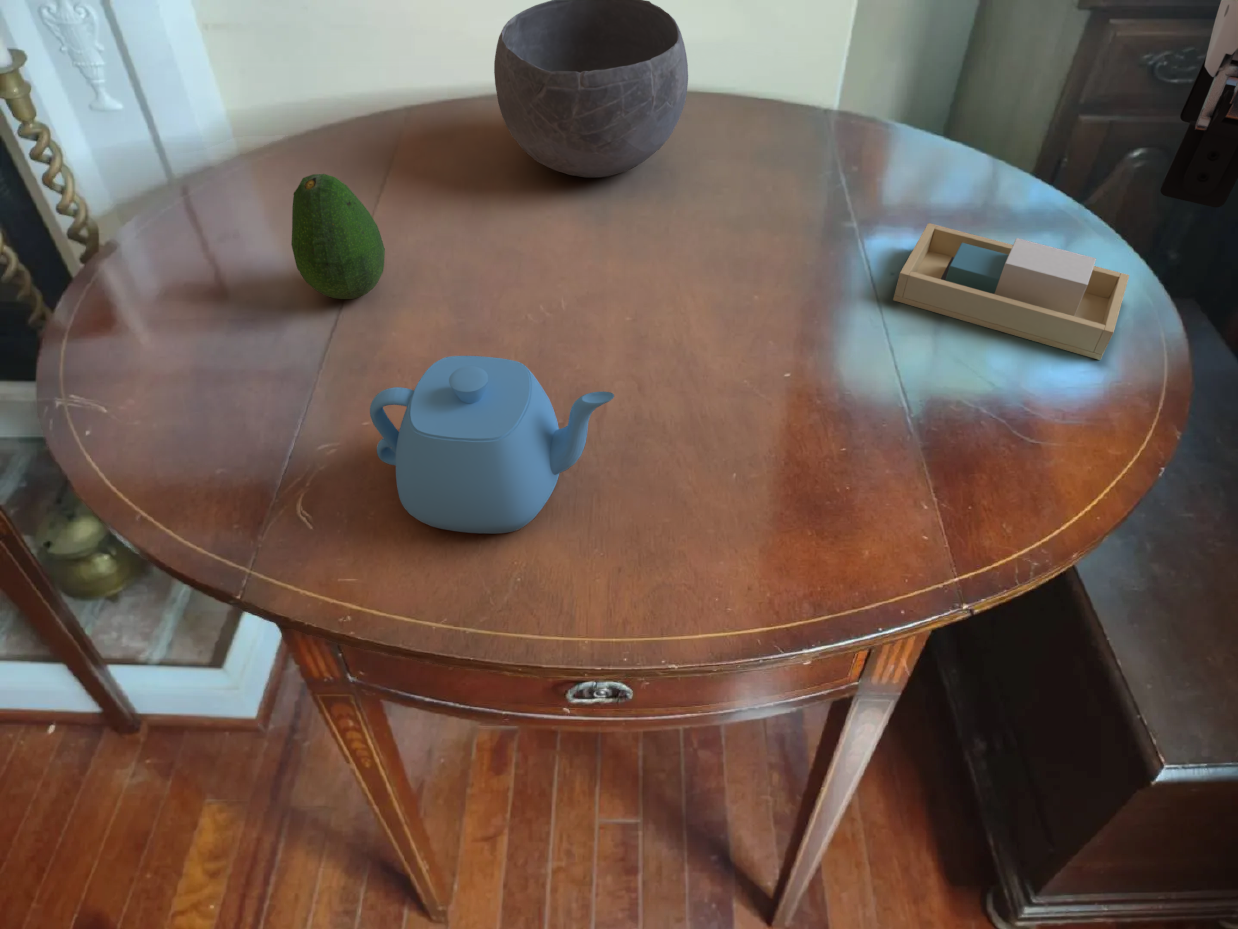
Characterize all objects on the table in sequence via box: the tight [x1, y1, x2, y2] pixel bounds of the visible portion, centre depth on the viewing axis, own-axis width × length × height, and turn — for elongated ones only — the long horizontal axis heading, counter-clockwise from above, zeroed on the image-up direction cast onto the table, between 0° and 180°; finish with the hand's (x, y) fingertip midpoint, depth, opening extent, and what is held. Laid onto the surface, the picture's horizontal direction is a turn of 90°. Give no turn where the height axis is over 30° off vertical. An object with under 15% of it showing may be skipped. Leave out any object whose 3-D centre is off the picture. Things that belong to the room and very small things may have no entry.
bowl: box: [493, 0, 689, 178], centre depth 102 cm, size 20×20×15 cm
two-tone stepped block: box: [941, 237, 1097, 316], centre depth 86 cm, size 12×5×5 cm, turn 62°
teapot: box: [369, 355, 615, 535], centre depth 69 cm, size 13×11×18 cm
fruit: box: [290, 173, 386, 300], centre depth 85 cm, size 8×8×12 cm
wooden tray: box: [892, 222, 1130, 361], centre depth 87 cm, size 19×10×3 cm, turn 62°
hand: (1198, 159), depth 54 cm, fingers open, 9 cm apart
